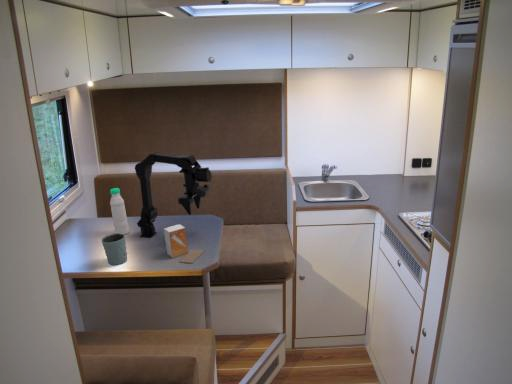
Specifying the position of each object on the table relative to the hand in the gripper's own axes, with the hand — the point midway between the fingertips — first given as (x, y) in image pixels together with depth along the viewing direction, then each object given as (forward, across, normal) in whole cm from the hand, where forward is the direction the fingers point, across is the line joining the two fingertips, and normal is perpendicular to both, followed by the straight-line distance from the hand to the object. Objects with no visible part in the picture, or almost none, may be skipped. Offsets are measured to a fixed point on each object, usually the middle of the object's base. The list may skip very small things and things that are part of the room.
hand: (194, 211), depth 214 cm
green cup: (+15, -30, +26) cm, 43 cm away
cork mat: (+15, -19, -6) cm, 25 cm away
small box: (+15, -17, +2) cm, 23 cm away
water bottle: (+15, 0, +44) cm, 47 cm away
